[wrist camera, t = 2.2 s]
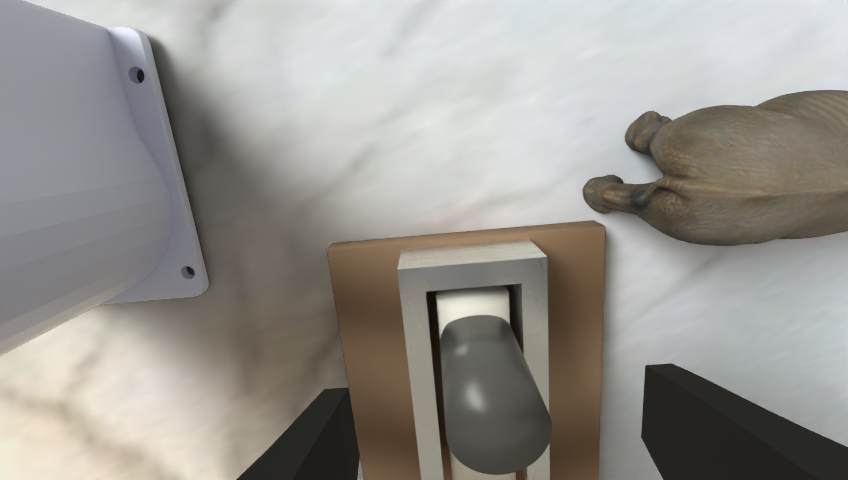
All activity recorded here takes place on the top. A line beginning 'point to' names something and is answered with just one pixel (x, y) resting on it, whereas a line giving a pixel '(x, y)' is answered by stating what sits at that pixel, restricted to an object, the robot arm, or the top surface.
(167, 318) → the top surface
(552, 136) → the top surface
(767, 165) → the rhino figurine
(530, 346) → the channel
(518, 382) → the bolt
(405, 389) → the board
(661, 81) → the top surface
